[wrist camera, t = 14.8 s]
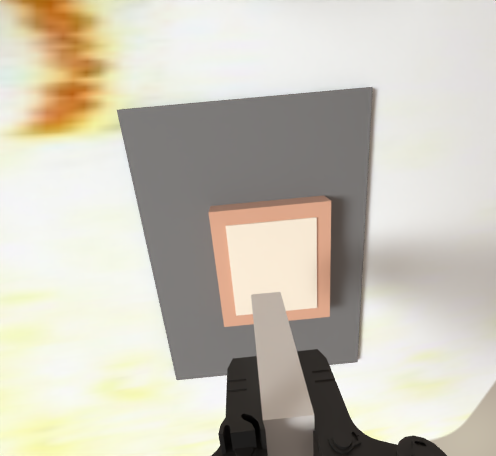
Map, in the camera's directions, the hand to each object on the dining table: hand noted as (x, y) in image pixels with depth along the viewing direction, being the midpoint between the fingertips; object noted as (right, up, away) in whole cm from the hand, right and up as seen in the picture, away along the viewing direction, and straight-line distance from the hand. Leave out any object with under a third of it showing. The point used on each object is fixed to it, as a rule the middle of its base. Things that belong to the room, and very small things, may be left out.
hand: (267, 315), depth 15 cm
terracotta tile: (-3, +2, +6) cm, 7 cm away
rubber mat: (0, +2, +7) cm, 7 cm away
